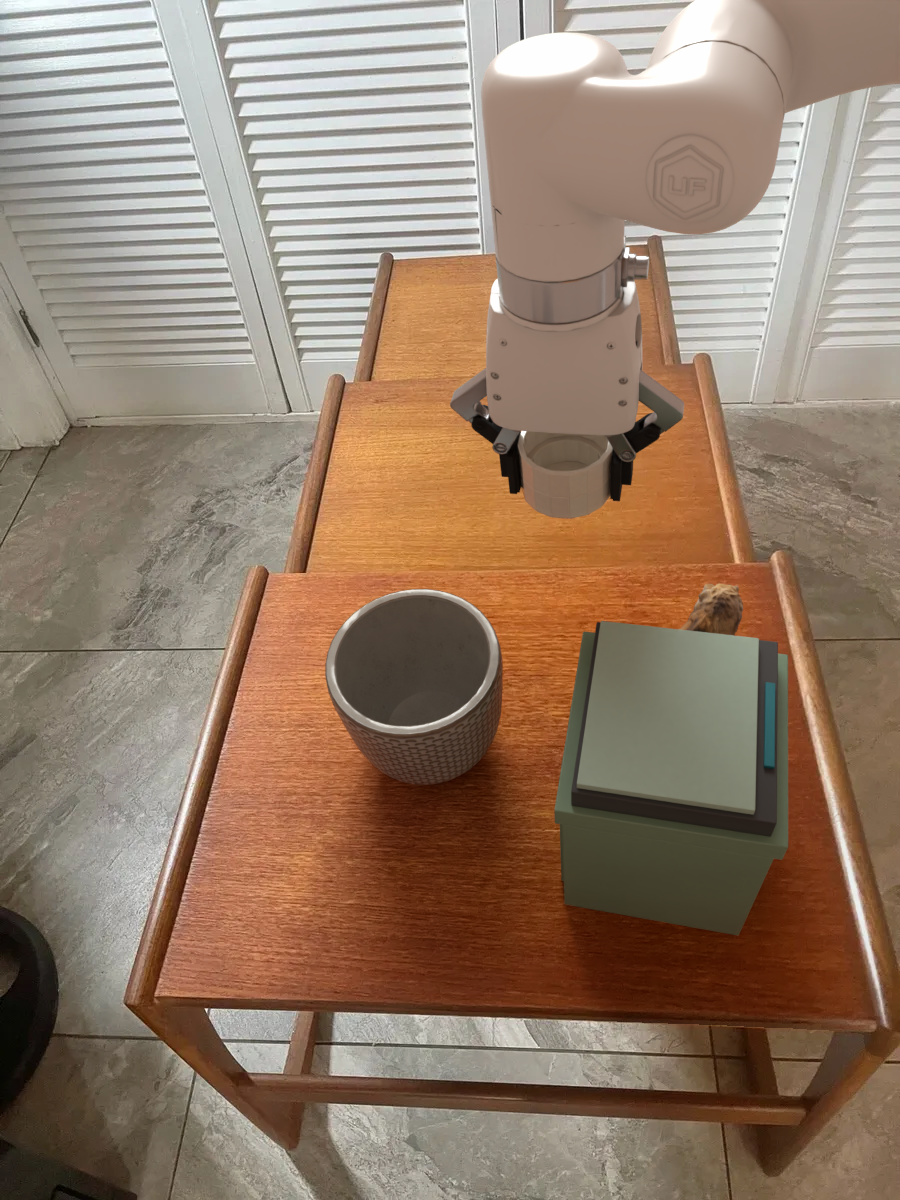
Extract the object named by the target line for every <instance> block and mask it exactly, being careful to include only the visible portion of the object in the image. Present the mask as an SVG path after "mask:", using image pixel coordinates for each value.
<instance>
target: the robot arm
mask: <svg viewBox="0 0 900 1200" xmlns="http://www.w3.org/2000/svg"><path fill="white" fill-rule="evenodd" d="M890 85H900V0H693V1H692V2H690V3H689V4H688V5H686V6H685V7H684V8H683V9H682V10H680V11H679V12H678V13H677V14H676V15H675V16H674V18H673V19H672V20H671V21H670V22H669V23H668V24H667V26H666V27H665V28H664V30H663V31H662V33H661V35H660V36H659V38H658V40H657V43H656V44H655V46H654V47H653V50H652V52H651V54H650V57H649V59H648V62H647V65H646V67H645V70H643V71H641V72H640V73H638V74H632V73H630V72H629V71H628V67H627V64H626V62H625V59H624V57H623V55H622V54H621V51H619V49H618V48H617V47H616V46H615V45H614V44H613V43H611V42H609V41H608V40H607V39H604V38H602V37H600V36H597V35H594V34H590V33H583V32H569V31H564V32H550V33H544V34H538V35H534V36H529V37H528V38H524V39H521V40H519V41H517V42H513V43H512V44H510V45H508V46H507V47H505V48H503V50H501V51H500V52H498V54H496V56H495V57H494V58H492V60H491V61H490V62H489V64H488V66H487V68H486V70H485V72H484V75H483V78H482V81H481V90H480V99H481V116H482V126H483V138H484V147H485V157H486V159H485V160H486V168H487V169H486V170H487V180H488V190H489V199H490V200H489V201H490V208H491V209H490V210H491V221H492V231H493V232H492V233H493V242H494V252H495V266H496V276H497V277H496V279H495V280H494V282H493V283H492V285H491V289H490V296H489V303H488V308H487V309H488V310H487V318H486V332H485V333H486V334H485V368H483V369H482V370H481V371H479V372H478V373H477V374H475V375H474V376H473V377H471V378H470V379H469V380H467V381H465V382H464V383H463V384H461V385H460V386H459V387H458V388H456V389H455V390H454V391H453V394H452V396H451V400H450V403H449V406H450V408H451V409H452V410H453V411H454V412H455V413H457V414H458V416H460V417H461V418H462V419H463V420H464V421H466V422H469V423H470V424H471V425H470V426H471V428H472V429H473V431H475V432H476V433H477V434H478V435H480V436H481V437H483V438H484V439H485V440H487V441H488V442H489V443H491V444H492V450H493V452H494V453H496V454H498V456H499V465H500V476H501V477H502V478H507V480H508V489H509V494H510V495H511V494H512V495H517V494H518V493H520V492H521V490H522V489H521V480H520V468H519V457H518V446H517V445H518V441H519V437H520V433H521V432H522V431H530V432H546V433H563V434H583V435H605V437H606V438H607V440H608V441H609V443H610V445H611V446H612V448H613V454H612V460H611V482H610V497H609V499H610V500H612V501H613V502H621V496H622V490H623V486H632V482H633V474H634V461H635V459H636V458H637V454H638V453H639V452H641V451H643V450H644V449H646V448H647V447H649V446H650V445H652V444H654V443H655V442H657V441H658V440H659V439H660V436H661V435H662V434H663V433H665V432H666V433H667V431H669V430H671V428H673V427H675V426H676V425H677V424H678V423H680V422H681V421H682V420H683V419H684V413H685V402H684V400H682V399H681V398H679V397H678V396H677V395H676V394H674V393H673V392H671V391H670V389H668V388H666V387H665V386H664V385H662V384H661V383H660V382H658V381H657V380H656V379H654V378H653V377H652V376H650V375H649V374H648V373H646V372H645V371H644V370H643V367H644V366H643V364H644V363H643V358H644V357H643V356H644V355H643V326H642V325H643V324H642V314H641V305H640V299H639V294H638V289H637V285H636V282H635V281H636V280H638V281H644V280H645V281H646V280H648V276H649V266H650V255H637V252H631V248H630V246H629V247H626V246H627V245H626V244H627V235H625V227H626V225H625V222H628V223H629V222H630V223H633V224H635V225H636V224H637V225H640V226H644V227H646V228H647V227H648V228H651V229H655V230H659V231H664V232H667V233H673V234H674V233H675V234H681V235H706V234H712V233H713V234H714V233H717V232H720V231H722V230H723V231H724V230H726V229H728V228H730V227H732V226H734V225H736V224H737V223H740V221H742V220H743V219H744V218H746V217H747V216H749V215H750V214H751V212H753V211H754V210H755V208H757V206H758V205H759V203H760V202H761V200H762V199H763V197H764V196H765V194H766V192H767V190H768V189H769V187H770V183H771V181H772V179H773V175H774V172H775V170H776V163H777V159H778V154H779V149H780V144H781V136H782V130H783V125H784V120H785V115H786V114H787V113H789V112H792V111H796V110H798V109H801V108H804V107H808V106H810V105H813V104H816V103H820V102H822V101H825V100H828V99H832V98H835V97H838V96H841V95H845V94H849V93H853V92H855V91H860V90H861V91H862V90H865V89H871V88H875V87H876V88H877V87H883V86H890ZM485 398H486V402H487V405H486V404H482V401H481V400H483V399H485ZM639 403H641V404H642V405H643V406H645V407H647V408H648V409H649V410H651V411H652V412H649V413H647V414H645V415H644V416H642V417H640V419H638V420H637V415H638V411H639Z"/></svg>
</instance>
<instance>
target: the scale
mask: <svg viewBox="0 0 900 1200" xmlns="http://www.w3.org/2000/svg"><path fill="white" fill-rule="evenodd" d="M594 633H595V637H594V644H593V650H592V657H591V664H590V670H589V677H588V683H587V690H586V697H585V703H584V710H583V717H582V723H581V730H580V736H579V743H578V750H577V756H576V763H575V769H574V776H573V783H572V789H571V805H572V806H576V807H583V808H589V809H596V810H602V811H609V812H615V813H621V814H628V815H634V816H641V817H647V818H653V819H660V820H666V821H673V822H679V823H685V824H692V825H698V826H705V827H711V828H717V829H724V830H730V831H737V832H743V833H749V834H756V835H762V836H769V837H771V835H772V833H773V831H774V828H775V826H776V824H777V715H778V654H779V642H778V641H772V640H763V639H760V638H758V637H752V636H743V635H742V636H741V635H735V636H734V635H725V634H716V633H707V632H698V631H689V630H680V628H670V627H660V626H652V625H643V624H633V623H623V622H616V621H608V620H601V621H597V622H596V624H595V632H594Z"/></svg>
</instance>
